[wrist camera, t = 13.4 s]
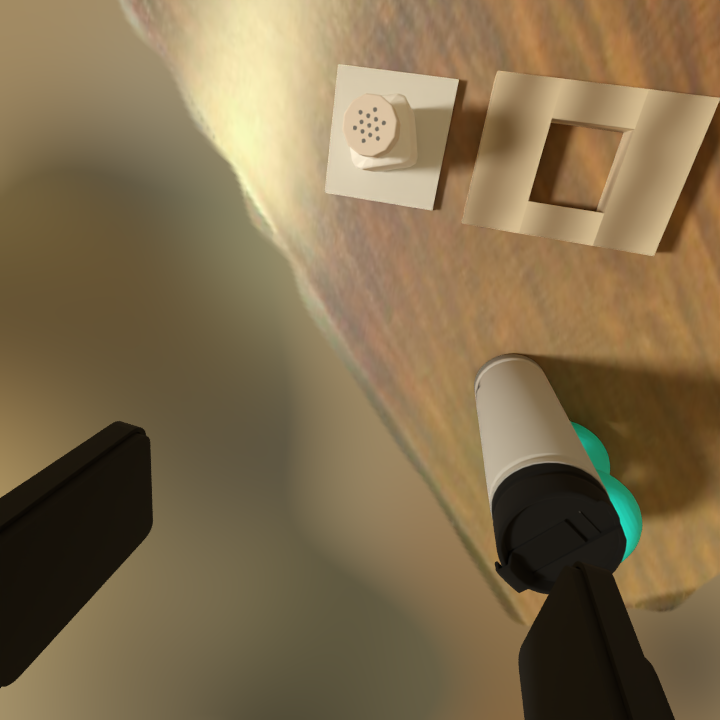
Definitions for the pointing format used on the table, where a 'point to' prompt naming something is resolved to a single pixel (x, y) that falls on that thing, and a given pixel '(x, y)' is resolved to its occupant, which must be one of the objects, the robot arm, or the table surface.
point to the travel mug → (540, 480)
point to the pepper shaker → (381, 132)
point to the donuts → (613, 488)
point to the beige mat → (432, 126)
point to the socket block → (628, 172)
